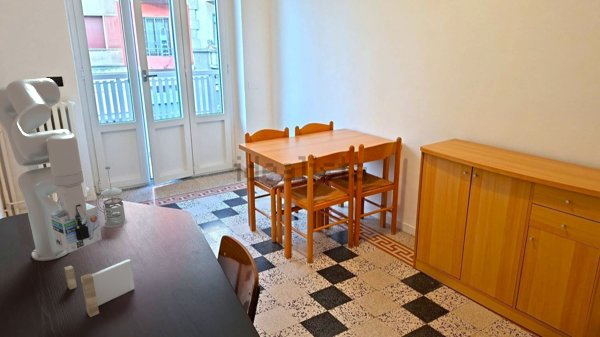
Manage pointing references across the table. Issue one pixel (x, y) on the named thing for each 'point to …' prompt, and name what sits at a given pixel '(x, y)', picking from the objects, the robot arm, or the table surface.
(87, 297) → the tan wooden blocky piece
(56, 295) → the table surface
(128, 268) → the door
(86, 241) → the light bulb box
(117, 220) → the french press
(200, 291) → the table surface
